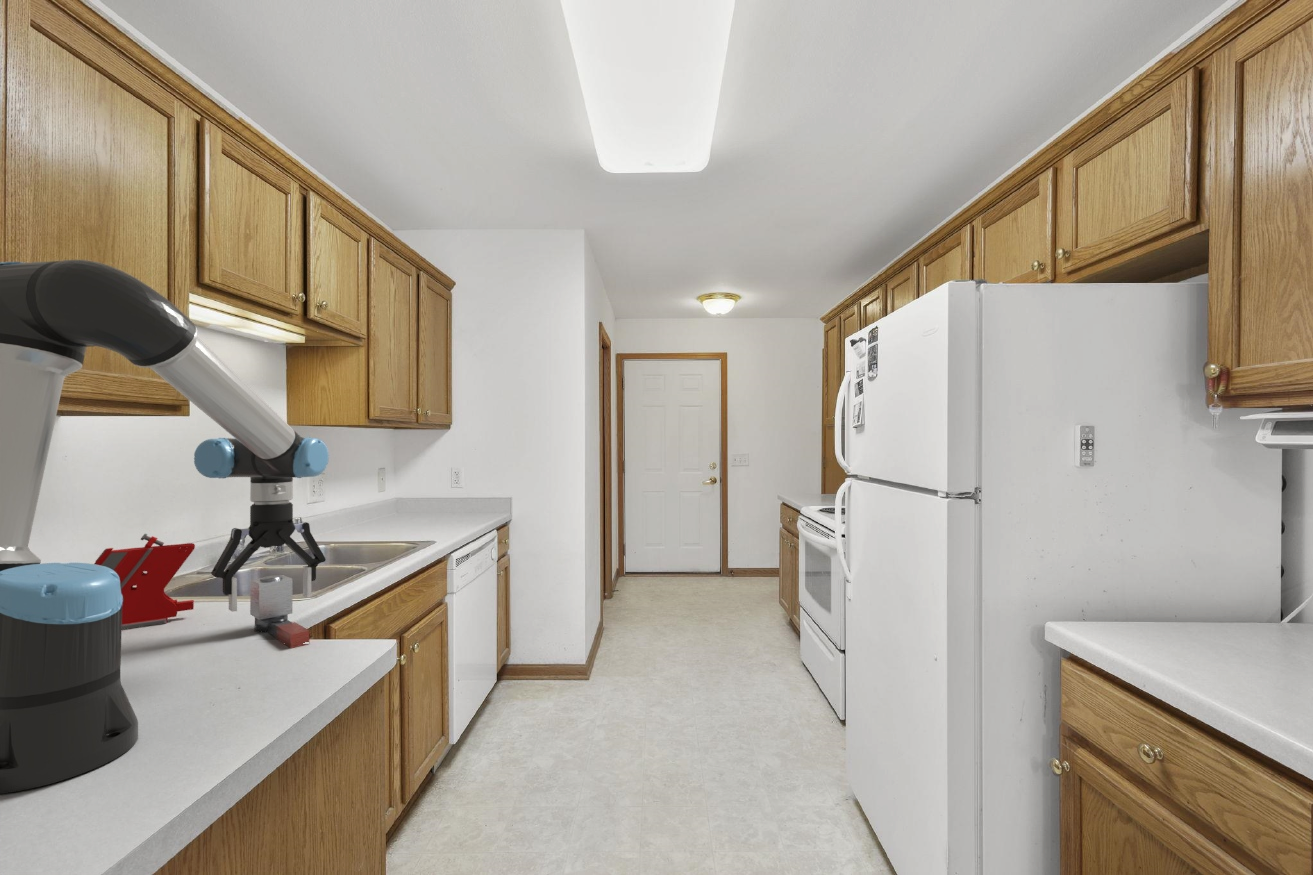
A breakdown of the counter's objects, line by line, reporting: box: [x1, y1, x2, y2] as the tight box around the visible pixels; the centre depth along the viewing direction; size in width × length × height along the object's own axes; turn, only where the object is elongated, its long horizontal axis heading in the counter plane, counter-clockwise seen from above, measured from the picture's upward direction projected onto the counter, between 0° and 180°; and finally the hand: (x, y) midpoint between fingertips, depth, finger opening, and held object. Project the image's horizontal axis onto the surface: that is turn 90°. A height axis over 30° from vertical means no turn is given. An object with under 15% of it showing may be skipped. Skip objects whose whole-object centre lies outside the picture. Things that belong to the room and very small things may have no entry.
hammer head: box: [249, 574, 293, 620], centre depth 123 cm, size 6×6×8 cm
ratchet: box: [254, 614, 310, 649], centre depth 118 cm, size 6×20×6 cm, turn 49°
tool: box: [93, 533, 196, 631], centre depth 124 cm, size 24×5×25 cm, turn 131°
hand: (271, 603), depth 123 cm, fingers open, 13 cm apart
